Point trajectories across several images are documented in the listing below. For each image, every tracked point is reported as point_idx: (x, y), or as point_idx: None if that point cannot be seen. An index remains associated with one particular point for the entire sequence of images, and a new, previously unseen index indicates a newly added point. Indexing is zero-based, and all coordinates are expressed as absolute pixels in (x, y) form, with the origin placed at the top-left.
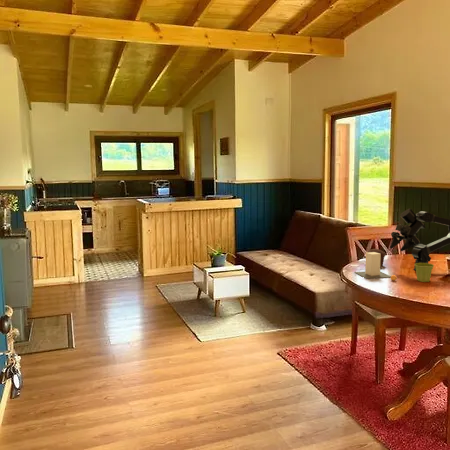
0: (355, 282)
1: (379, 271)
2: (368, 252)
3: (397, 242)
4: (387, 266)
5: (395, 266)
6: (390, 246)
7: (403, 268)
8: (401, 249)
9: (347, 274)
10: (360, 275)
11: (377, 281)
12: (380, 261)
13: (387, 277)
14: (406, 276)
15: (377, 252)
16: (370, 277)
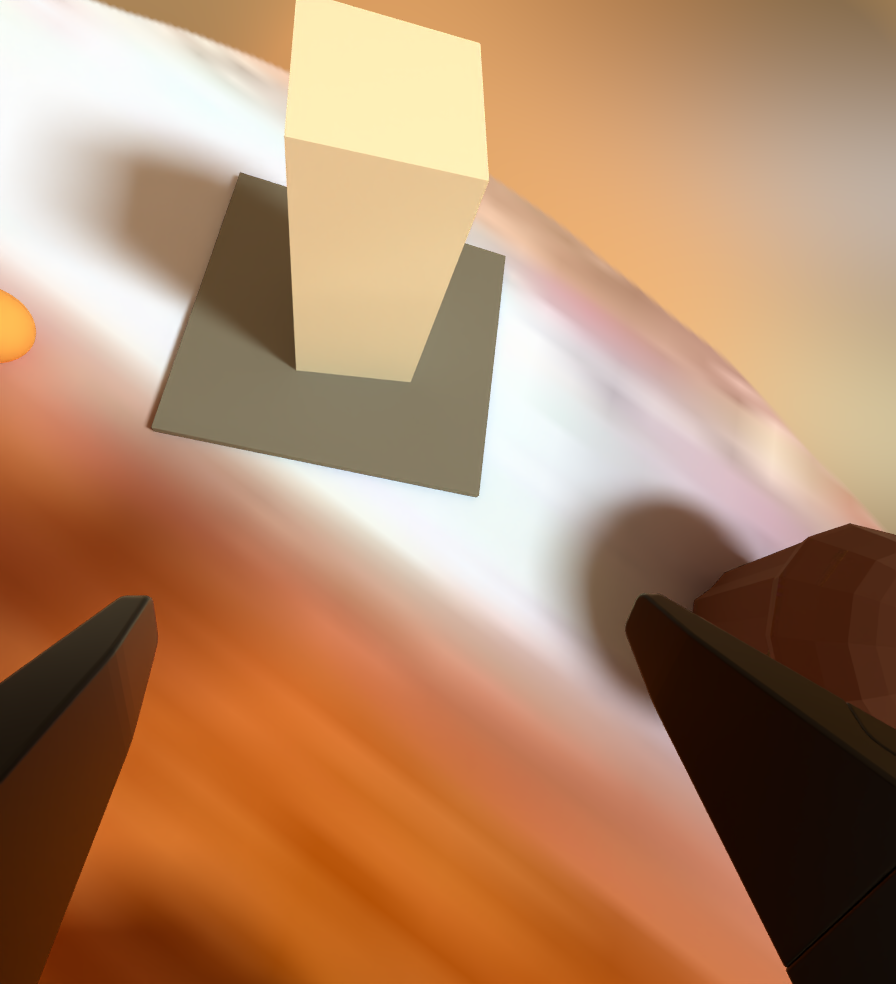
0: (160, 29)
1: (296, 340)
2: (480, 81)
3: (846, 977)
4: None
5: (676, 880)
6: (669, 605)
7: (550, 927)
8: (103, 619)
9: None
10: None
11: (82, 189)
12: None
13: (170, 377)
14: None
15: (864, 623)
16: (240, 220)
